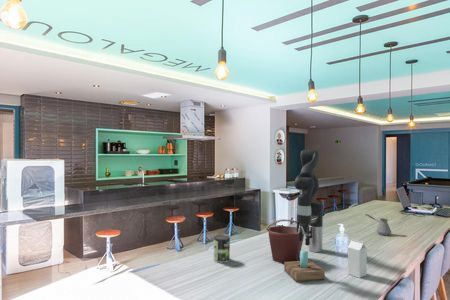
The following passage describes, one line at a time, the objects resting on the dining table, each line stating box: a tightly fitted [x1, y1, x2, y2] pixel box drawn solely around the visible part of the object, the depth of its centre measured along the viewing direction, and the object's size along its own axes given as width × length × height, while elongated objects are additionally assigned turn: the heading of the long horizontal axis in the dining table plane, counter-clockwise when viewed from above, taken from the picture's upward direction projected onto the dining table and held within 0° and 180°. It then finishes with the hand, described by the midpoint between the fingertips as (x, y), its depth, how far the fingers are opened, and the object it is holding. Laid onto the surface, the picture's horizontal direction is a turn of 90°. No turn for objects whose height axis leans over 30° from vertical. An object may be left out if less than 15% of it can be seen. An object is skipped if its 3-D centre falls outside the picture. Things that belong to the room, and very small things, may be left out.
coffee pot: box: [365, 213, 392, 237], centre depth 263 cm, size 21×12×15 cm, turn 42°
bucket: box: [265, 218, 305, 265], centre depth 195 cm, size 24×22×25 cm
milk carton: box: [347, 238, 368, 279], centre depth 171 cm, size 7×7×19 cm
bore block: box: [283, 260, 326, 283], centre depth 169 cm, size 16×16×5 cm
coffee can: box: [213, 234, 231, 264], centre depth 193 cm, size 10×10×14 cm
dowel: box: [299, 250, 309, 268], centre depth 169 cm, size 4×4×12 cm
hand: (304, 242), depth 169 cm, fingers open, 8 cm apart
